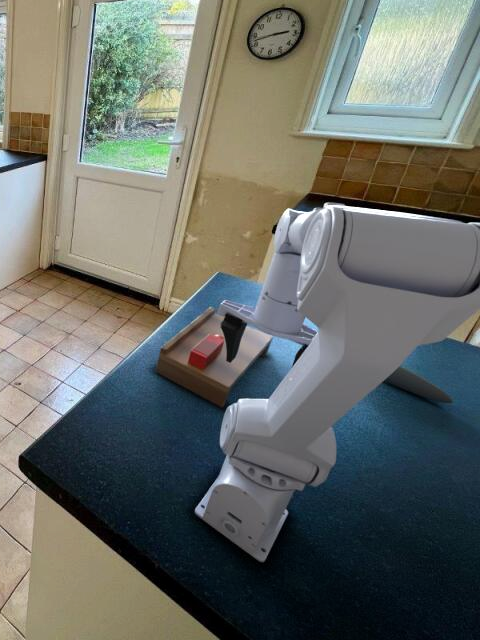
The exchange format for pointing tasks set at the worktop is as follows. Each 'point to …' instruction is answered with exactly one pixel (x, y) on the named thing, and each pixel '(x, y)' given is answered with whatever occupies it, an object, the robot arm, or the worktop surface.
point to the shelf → (218, 372)
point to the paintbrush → (417, 385)
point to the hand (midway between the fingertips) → (257, 371)
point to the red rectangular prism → (206, 351)
